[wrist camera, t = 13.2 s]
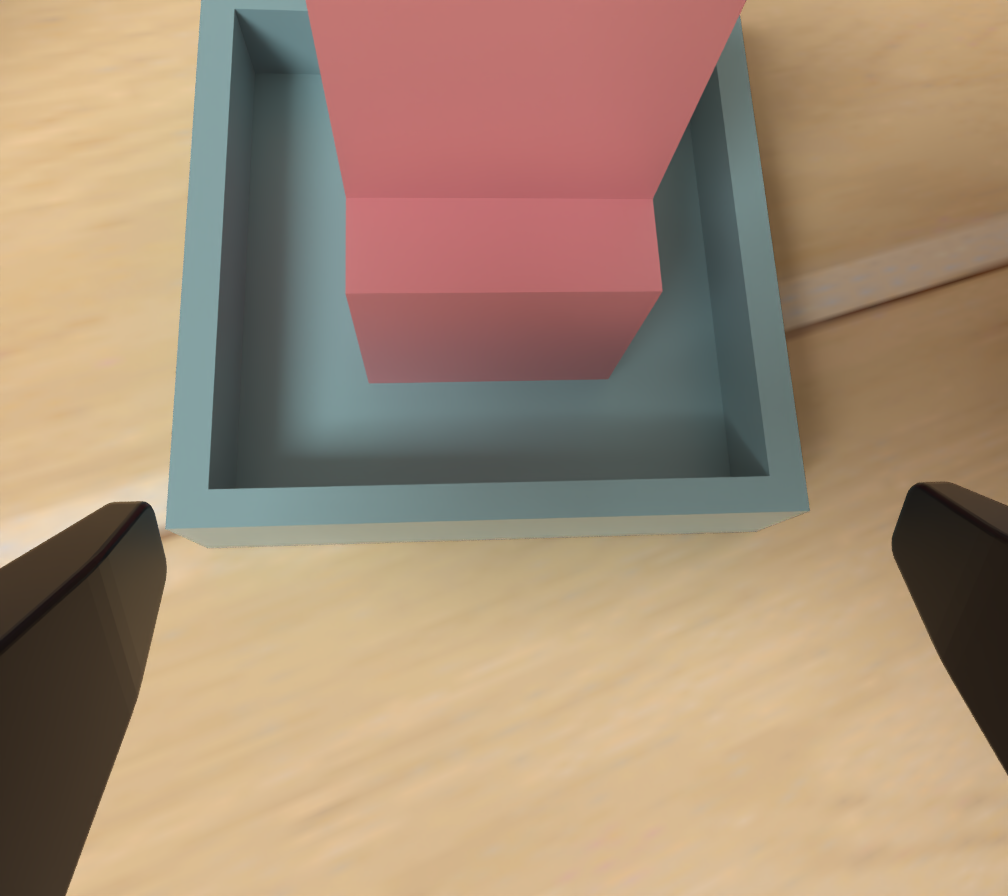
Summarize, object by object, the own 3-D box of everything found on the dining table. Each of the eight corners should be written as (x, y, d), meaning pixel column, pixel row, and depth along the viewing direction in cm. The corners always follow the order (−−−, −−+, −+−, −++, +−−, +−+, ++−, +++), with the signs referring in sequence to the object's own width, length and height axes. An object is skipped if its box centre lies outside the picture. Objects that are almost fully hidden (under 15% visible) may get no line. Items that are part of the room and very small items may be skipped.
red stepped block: (608, 379, 20) (769, 119, 10) (368, 383, 19) (298, 113, 10) (587, 130, 22) (706, -291, 12) (367, 127, 21) (308, -315, 11)
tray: (755, 531, 20) (810, 511, 17) (207, 548, 19) (165, 528, 16) (700, 79, 23) (737, -2, 20) (233, 68, 22) (203, -20, 19)
